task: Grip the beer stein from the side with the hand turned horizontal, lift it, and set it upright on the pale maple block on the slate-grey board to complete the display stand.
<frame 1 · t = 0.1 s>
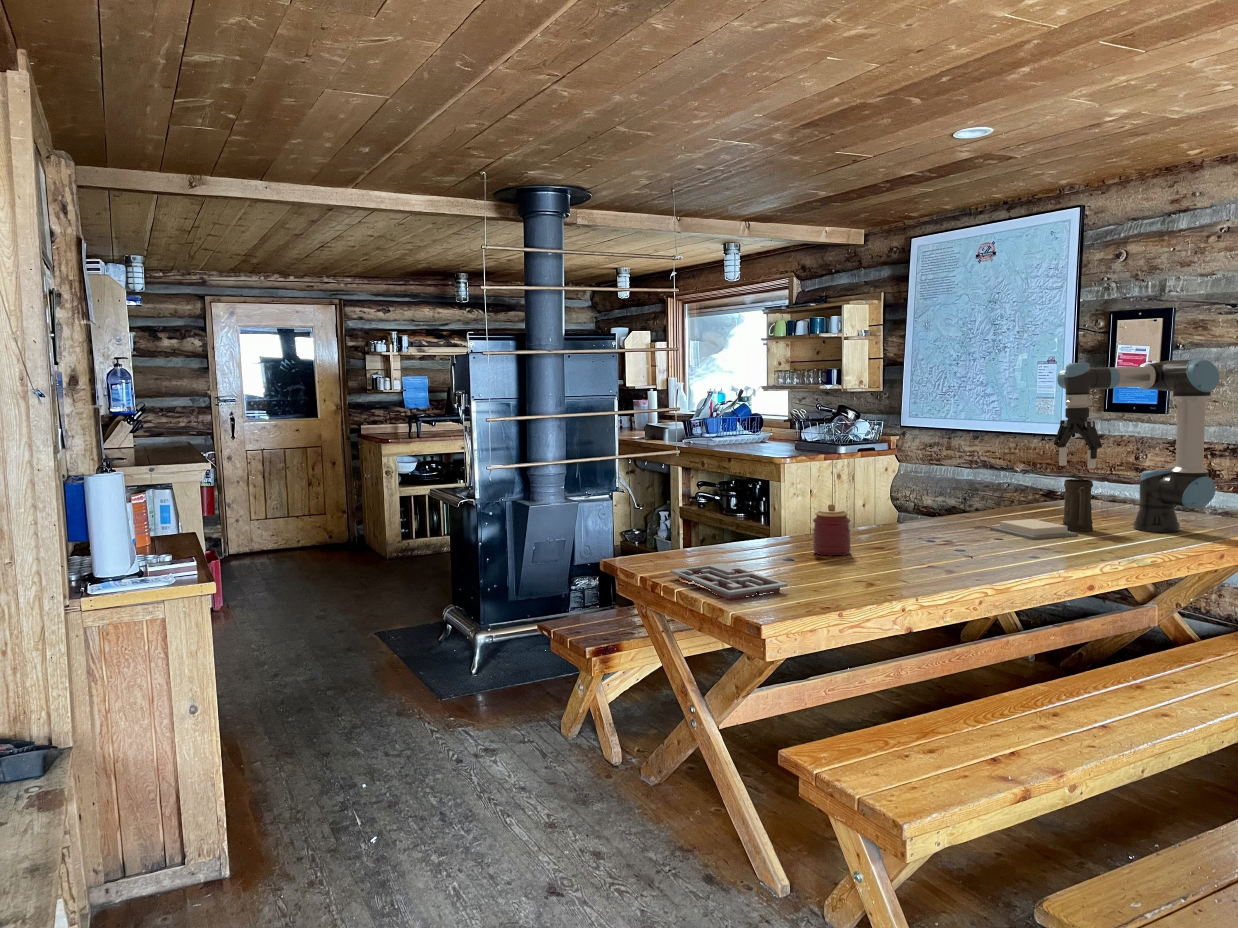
hand: (1076, 466, 314), 28 cm above the table, tool pointing down, fingers open, 13 cm apart
beer stein: (1079, 531, 342), on the table
canister: (831, 553, 313), on the table
maze game: (726, 587, 268), on the table
stand: (1032, 532, 341), on the table
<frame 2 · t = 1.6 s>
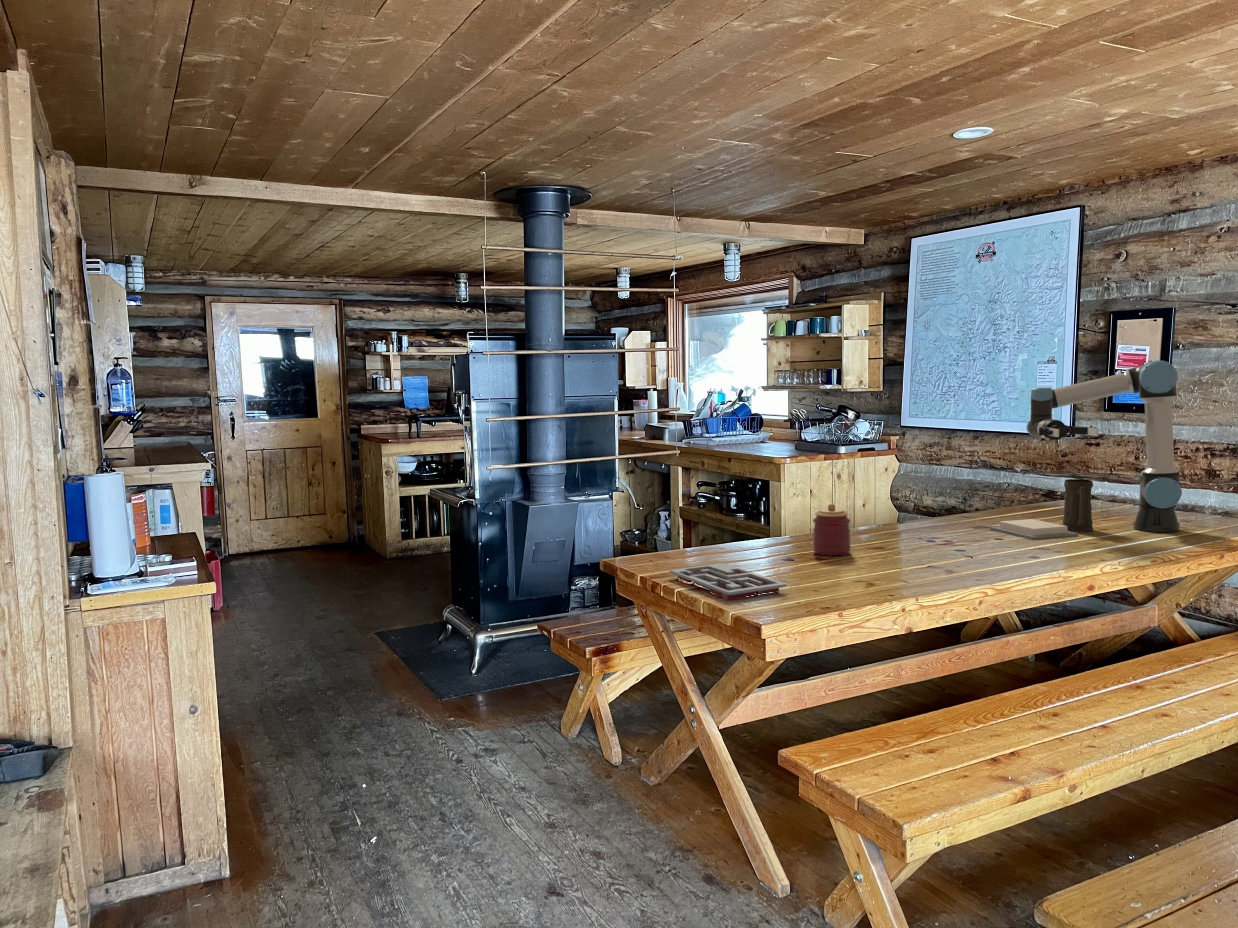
hand: (1077, 432, 313), 40 cm above the table, tool horizontal, fingers open, 13 cm apart
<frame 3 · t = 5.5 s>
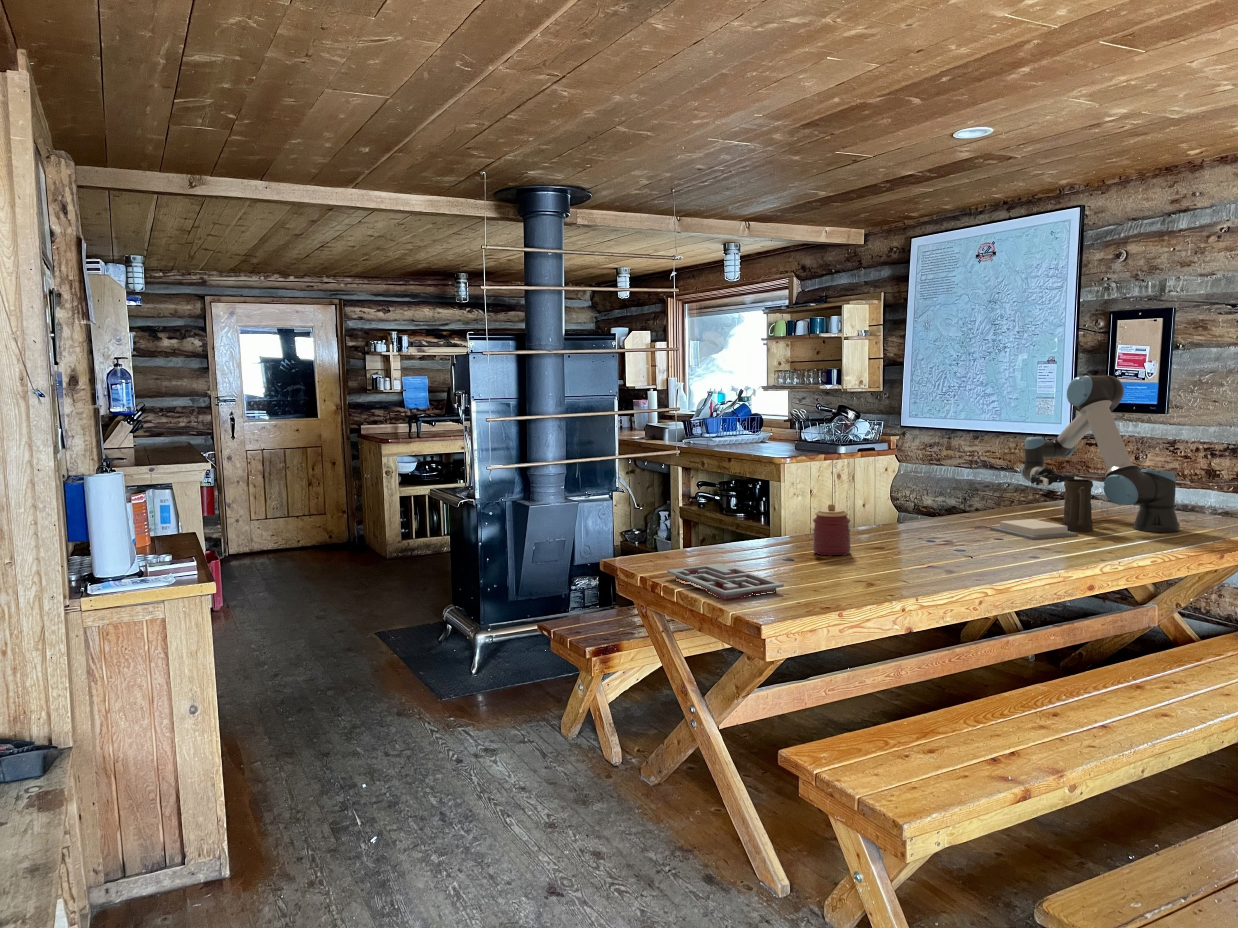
hand: (1065, 482, 353), 18 cm above the table, tool horizontal, fingers open, 13 cm apart
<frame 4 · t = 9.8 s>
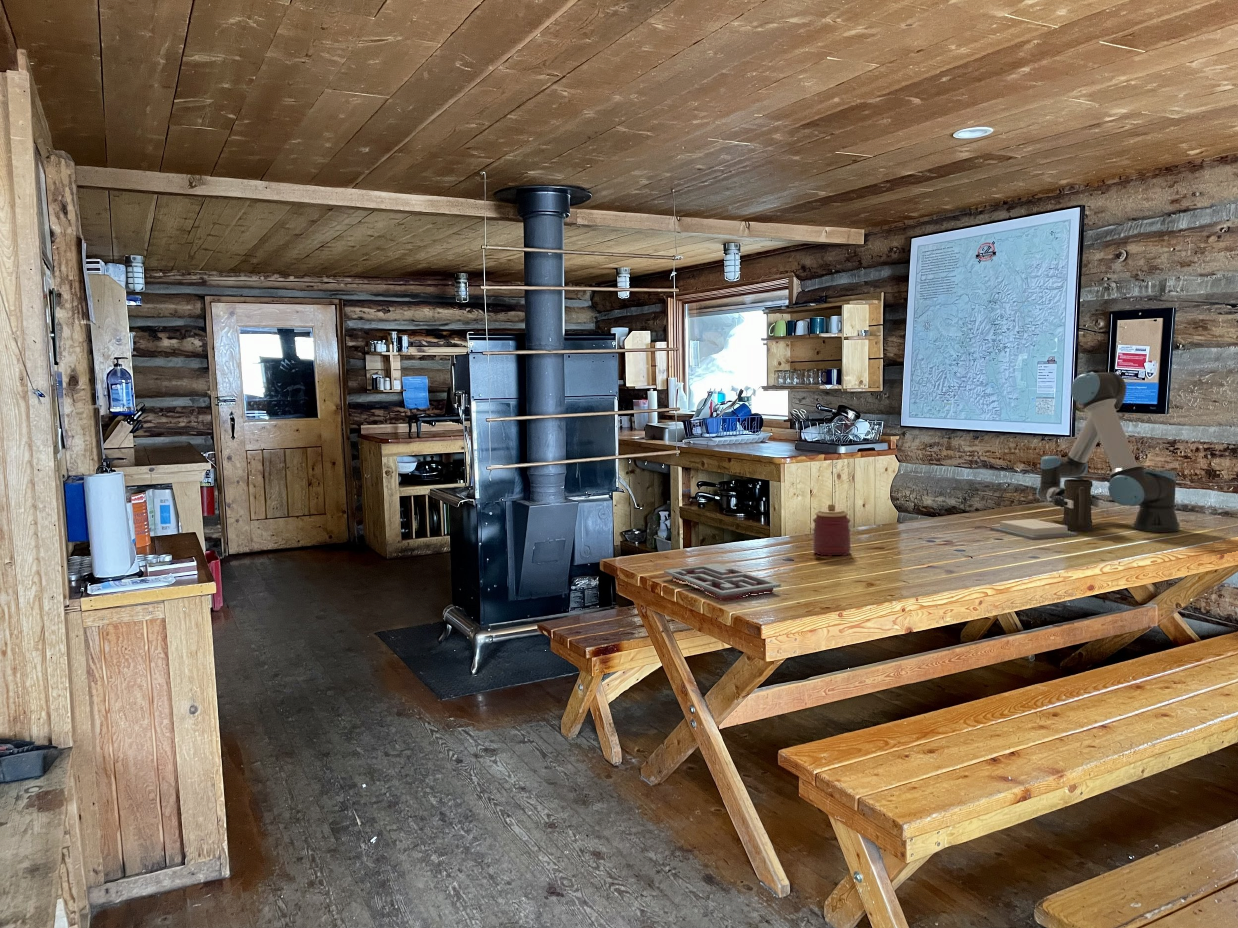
hand: (1085, 504, 337), 11 cm above the table, tool horizontal, fingers closed on beer stein, 9 cm apart
beer stein: (1079, 531, 342), on the table, touching gripper
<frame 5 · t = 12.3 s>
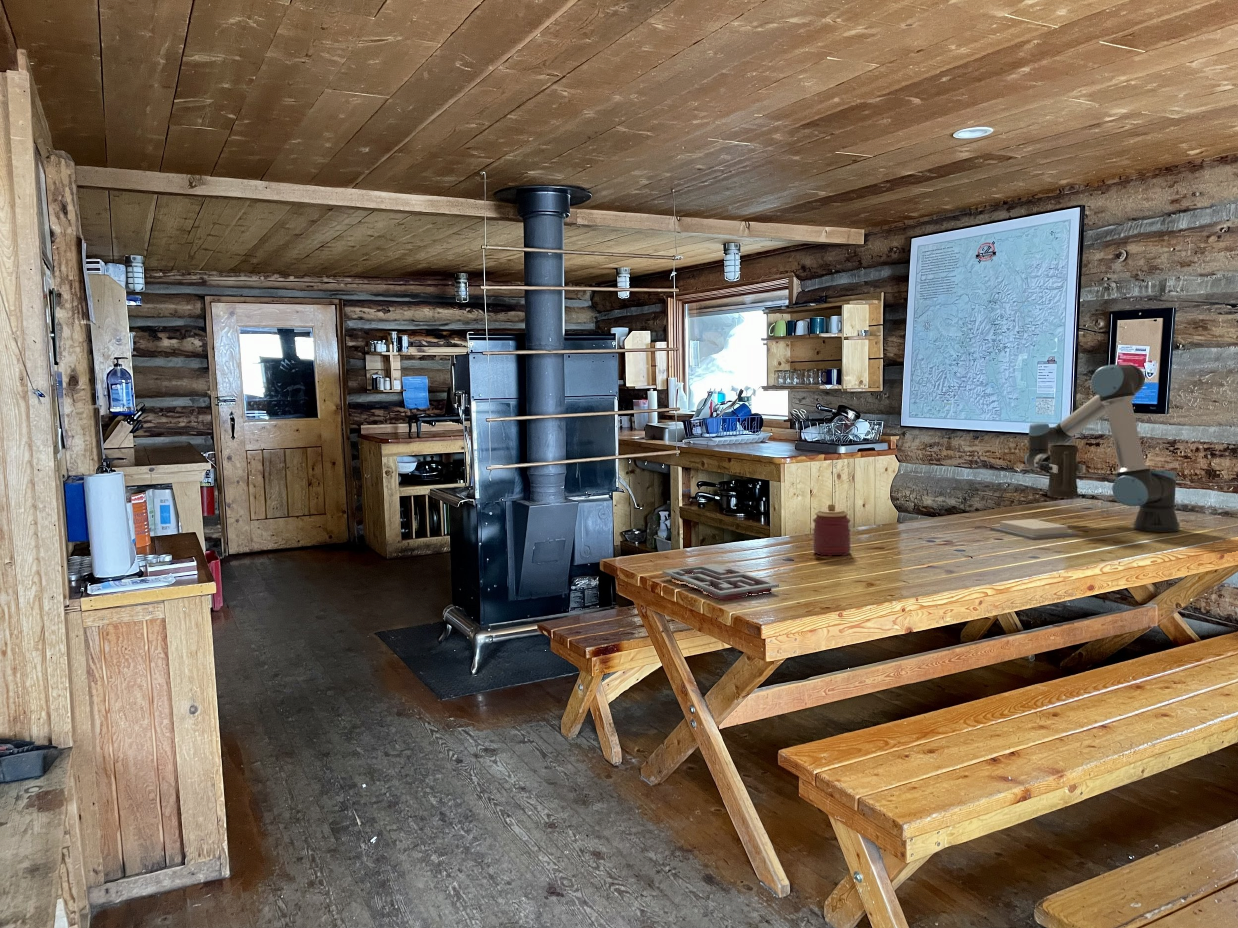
hand: (1070, 469, 337), 25 cm above the table, tool horizontal, fingers closed on beer stein, 9 cm apart
beer stein: (1064, 496, 342), point 13 cm above the table, touching gripper
when the fingers open (16 cm above the table, at t = 15.1 s): beer stein drops 1 cm, resting on stand.
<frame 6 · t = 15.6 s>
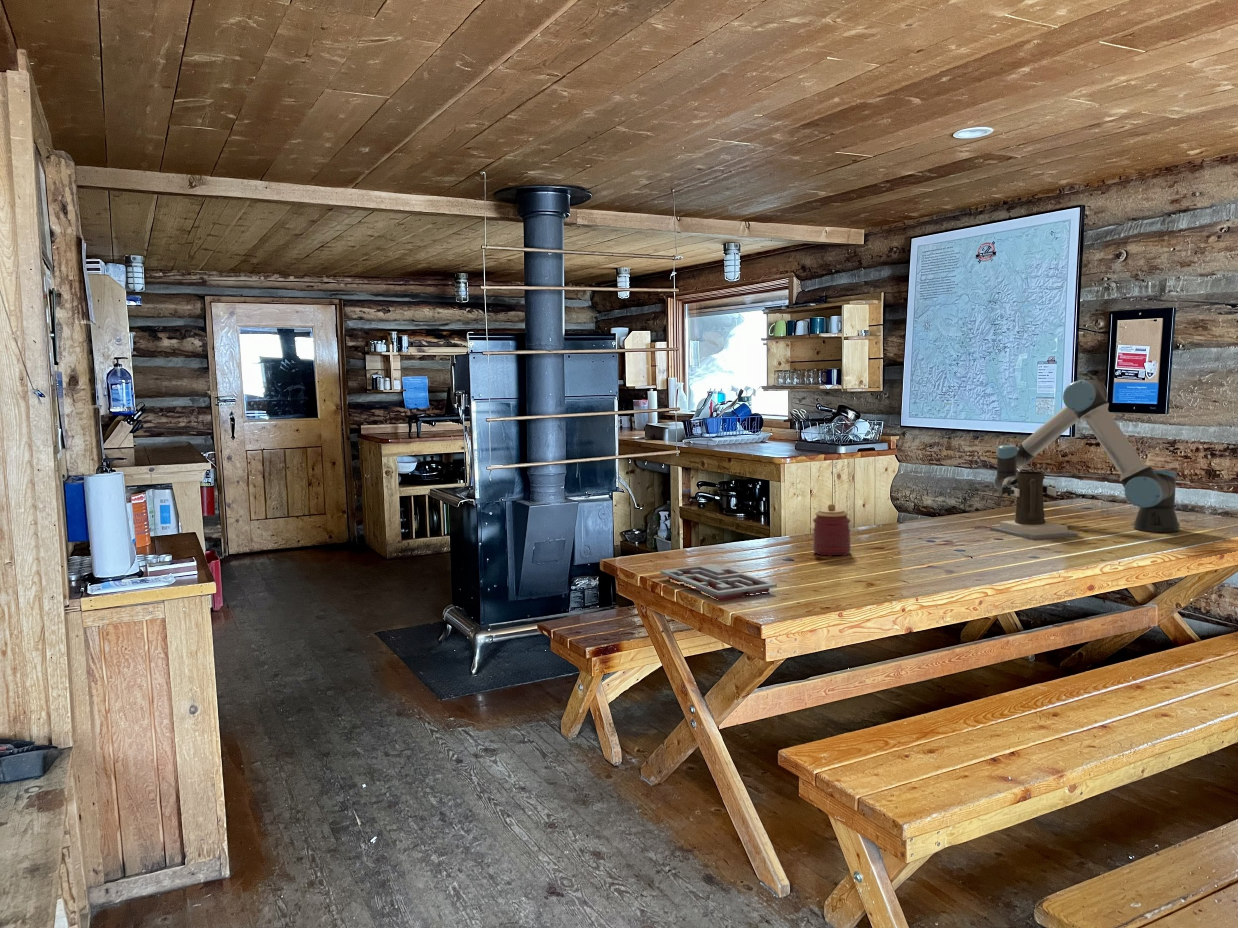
hand: (1036, 492, 337), 16 cm above the table, tool horizontal, fingers open, 13 cm apart
beer stein: (1031, 524, 341), point 3 cm above the table, touching stand
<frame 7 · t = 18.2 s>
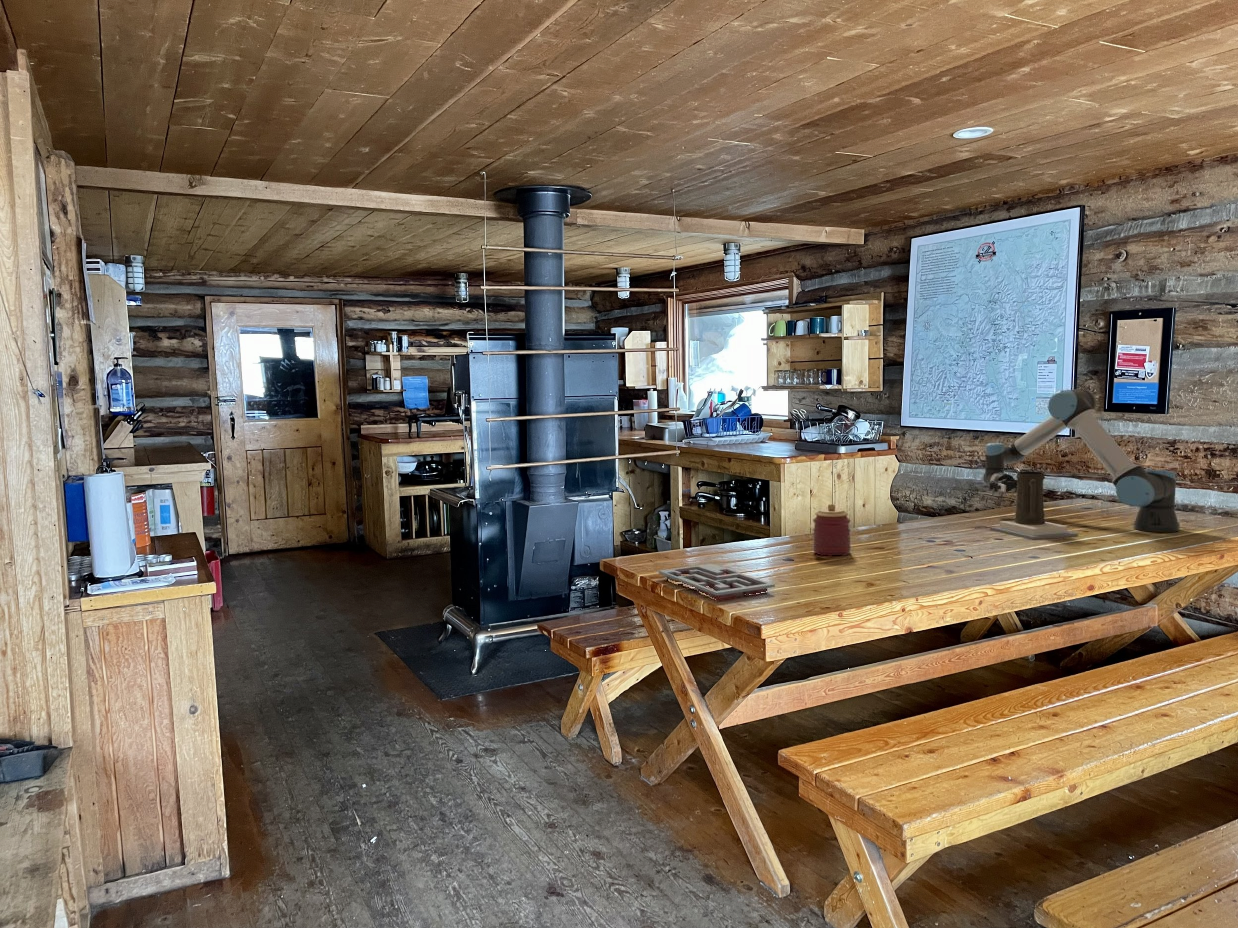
hand: (1022, 488, 351), 16 cm above the table, tool horizontal, fingers open, 13 cm apart
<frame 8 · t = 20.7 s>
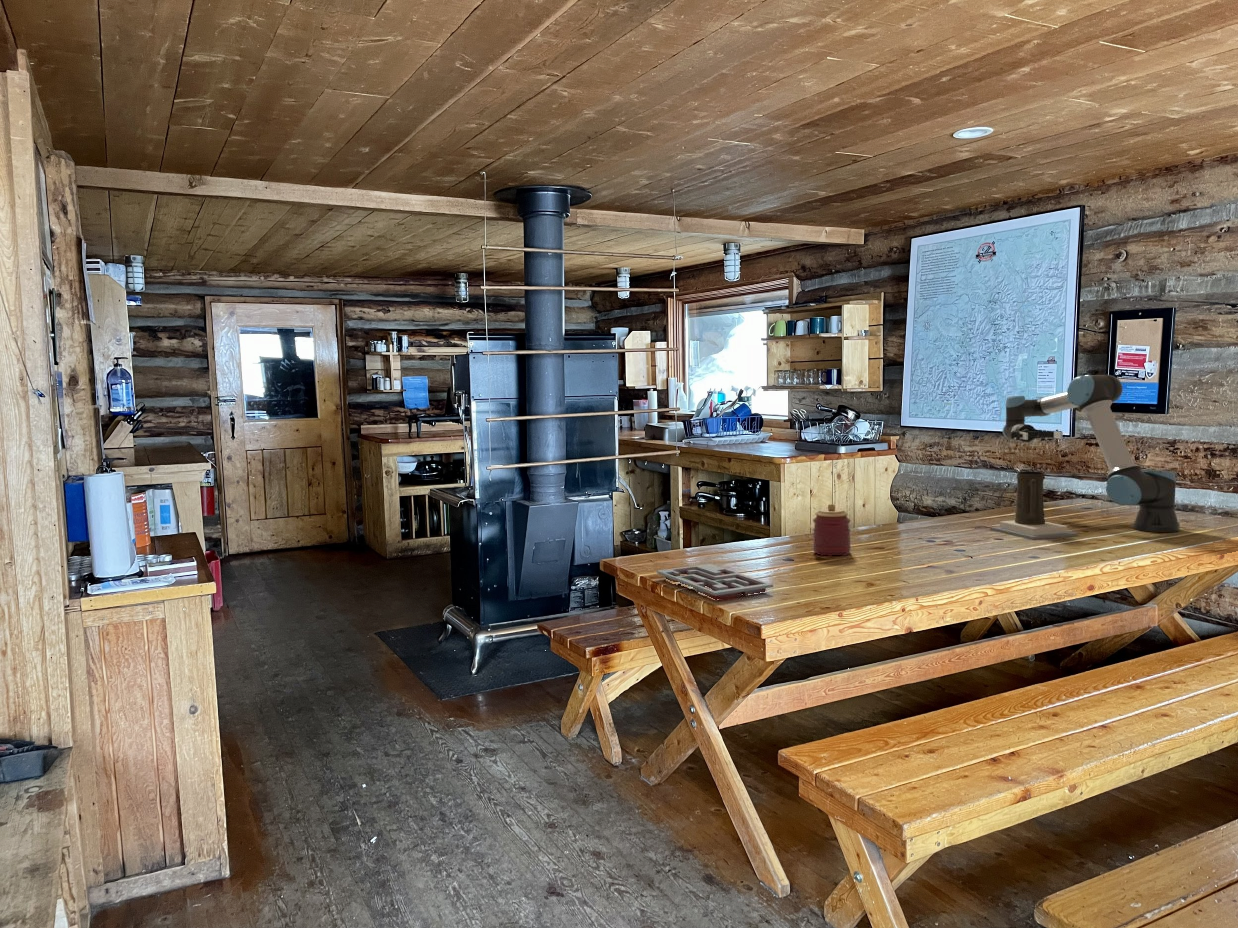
hand: (1044, 435, 357), 36 cm above the table, tool horizontal, fingers open, 13 cm apart
at the end: beer stein inside the target area on the stand (0.4 cm from its centre), point 3.3 cm above the stand's base; beer stein tilted 0°; the gripper is holding nothing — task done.
